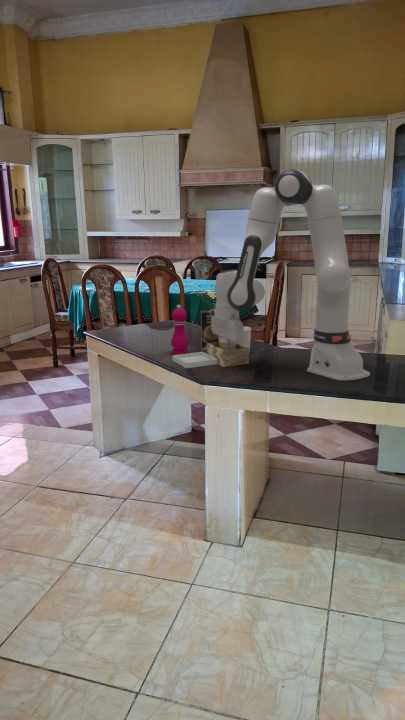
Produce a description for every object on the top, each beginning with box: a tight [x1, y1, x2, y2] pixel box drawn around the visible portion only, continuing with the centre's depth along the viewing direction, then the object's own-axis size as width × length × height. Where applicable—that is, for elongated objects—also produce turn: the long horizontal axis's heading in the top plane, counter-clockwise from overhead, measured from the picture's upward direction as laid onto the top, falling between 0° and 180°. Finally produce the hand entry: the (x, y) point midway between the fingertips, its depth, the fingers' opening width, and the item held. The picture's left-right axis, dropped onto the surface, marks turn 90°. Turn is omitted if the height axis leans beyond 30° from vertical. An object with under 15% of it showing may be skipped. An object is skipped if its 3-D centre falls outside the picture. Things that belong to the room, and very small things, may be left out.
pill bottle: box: [219, 331, 236, 351], centre depth 205 cm, size 6×6×12 cm
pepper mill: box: [170, 304, 190, 355], centre depth 217 cm, size 7×7×20 cm
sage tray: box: [172, 351, 219, 369], centre depth 205 cm, size 13×13×2 cm
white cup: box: [237, 326, 252, 353], centre depth 218 cm, size 8×8×10 cm
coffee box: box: [200, 309, 219, 352], centre depth 224 cm, size 9×6×16 cm
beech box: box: [206, 342, 250, 368], centre depth 205 cm, size 15×11×6 cm
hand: (227, 349), depth 205 cm, fingers closed on pill bottle, 6 cm apart
